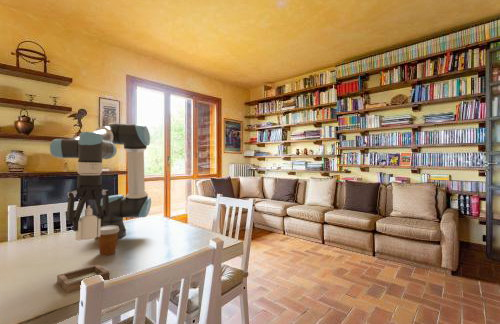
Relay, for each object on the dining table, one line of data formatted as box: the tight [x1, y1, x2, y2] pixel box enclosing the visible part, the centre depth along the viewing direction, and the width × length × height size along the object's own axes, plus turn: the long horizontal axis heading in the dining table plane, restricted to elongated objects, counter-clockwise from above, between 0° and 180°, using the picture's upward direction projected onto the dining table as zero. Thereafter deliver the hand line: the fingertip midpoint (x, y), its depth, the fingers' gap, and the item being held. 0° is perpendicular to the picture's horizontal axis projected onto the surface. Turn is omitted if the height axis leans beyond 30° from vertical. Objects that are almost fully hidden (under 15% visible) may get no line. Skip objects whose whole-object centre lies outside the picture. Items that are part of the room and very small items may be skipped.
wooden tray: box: [56, 263, 111, 293], centre depth 91 cm, size 11×13×2 cm
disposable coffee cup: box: [97, 225, 120, 256], centre depth 118 cm, size 10×10×12 cm
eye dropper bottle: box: [79, 204, 98, 241], centre depth 92 cm, size 4×6×12 cm
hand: (88, 237), depth 92 cm, fingers closed on eye dropper bottle, 6 cm apart
